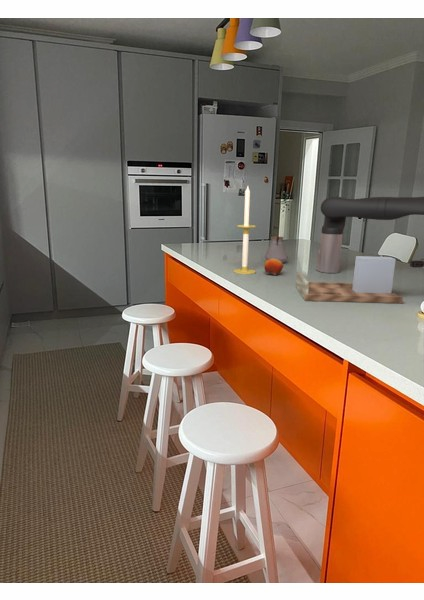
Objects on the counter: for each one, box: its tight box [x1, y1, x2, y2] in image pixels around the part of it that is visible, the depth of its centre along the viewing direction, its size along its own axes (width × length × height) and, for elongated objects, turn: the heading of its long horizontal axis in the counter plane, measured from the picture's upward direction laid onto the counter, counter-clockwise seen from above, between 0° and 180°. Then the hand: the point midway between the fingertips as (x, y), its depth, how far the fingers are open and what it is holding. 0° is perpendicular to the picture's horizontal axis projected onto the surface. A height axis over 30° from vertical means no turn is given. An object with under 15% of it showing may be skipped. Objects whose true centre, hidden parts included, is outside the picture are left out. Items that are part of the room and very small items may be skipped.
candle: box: [232, 185, 257, 275], centre depth 183 cm, size 10×10×38 cm
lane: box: [295, 271, 404, 305], centre depth 149 cm, size 32×20×6 cm, turn 88°
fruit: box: [264, 259, 284, 276], centre depth 183 cm, size 8×8×8 cm
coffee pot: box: [264, 235, 288, 265], centre depth 206 cm, size 21×12×15 cm, turn 172°
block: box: [352, 255, 396, 293], centre depth 148 cm, size 12×5×12 cm, turn 88°
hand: (410, 263), depth 146 cm, fingers closed
